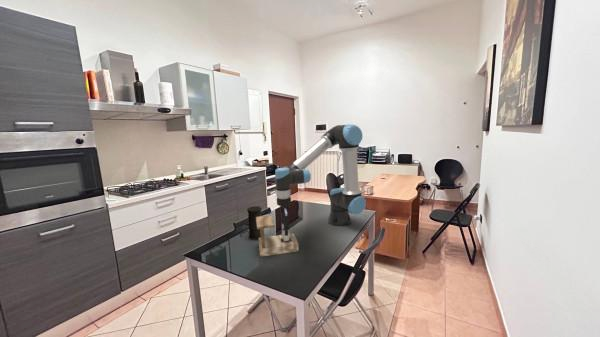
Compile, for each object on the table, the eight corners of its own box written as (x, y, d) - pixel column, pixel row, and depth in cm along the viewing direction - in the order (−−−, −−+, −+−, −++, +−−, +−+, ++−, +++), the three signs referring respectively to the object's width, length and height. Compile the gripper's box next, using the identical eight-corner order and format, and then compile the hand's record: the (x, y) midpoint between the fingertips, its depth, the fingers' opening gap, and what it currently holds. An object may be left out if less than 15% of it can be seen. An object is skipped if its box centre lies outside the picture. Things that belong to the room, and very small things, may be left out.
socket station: (293, 239, 142) (292, 212, 140) (298, 251, 128) (297, 222, 125) (258, 244, 138) (256, 216, 136) (259, 257, 124) (257, 227, 121)
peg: (289, 243, 136) (288, 222, 134) (290, 246, 132) (289, 225, 131) (282, 244, 136) (280, 223, 134) (282, 247, 132) (281, 226, 130)
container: (266, 234, 151) (264, 206, 149) (260, 240, 143) (258, 211, 140) (253, 233, 154) (251, 205, 151) (246, 239, 145) (243, 210, 143)
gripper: (274, 193, 137) (277, 233, 141) (278, 202, 121) (281, 246, 124) (288, 192, 139) (290, 231, 142) (293, 200, 122) (295, 244, 126)
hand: (285, 238), depth 133 cm, fingers closed on peg, 4 cm apart
